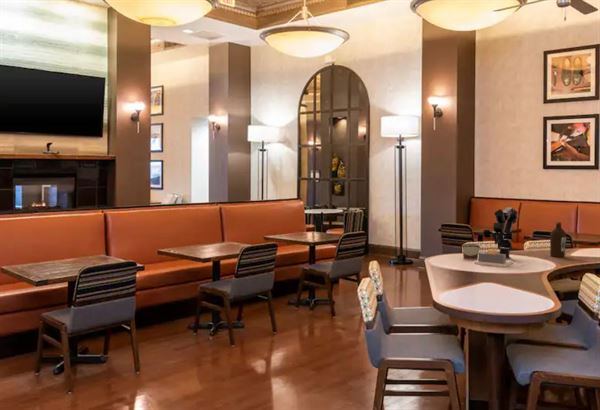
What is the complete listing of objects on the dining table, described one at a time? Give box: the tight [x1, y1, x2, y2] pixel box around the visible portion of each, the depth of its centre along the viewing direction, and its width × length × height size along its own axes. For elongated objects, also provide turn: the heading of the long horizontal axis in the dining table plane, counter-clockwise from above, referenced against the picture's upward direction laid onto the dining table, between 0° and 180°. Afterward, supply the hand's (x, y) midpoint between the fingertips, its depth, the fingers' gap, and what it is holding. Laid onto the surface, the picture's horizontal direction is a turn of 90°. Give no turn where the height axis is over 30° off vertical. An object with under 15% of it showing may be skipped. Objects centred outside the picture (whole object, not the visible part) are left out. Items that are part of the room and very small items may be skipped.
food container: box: [461, 243, 481, 260], centre depth 393 cm, size 12×6×10 cm, turn 84°
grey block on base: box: [474, 251, 514, 268], centre depth 373 cm, size 18×20×7 cm
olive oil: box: [549, 221, 567, 258], centre depth 406 cm, size 11×11×25 cm
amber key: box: [487, 248, 498, 254], centre depth 369 cm, size 5×5×3 cm
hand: (495, 243), depth 375 cm, fingers closed
